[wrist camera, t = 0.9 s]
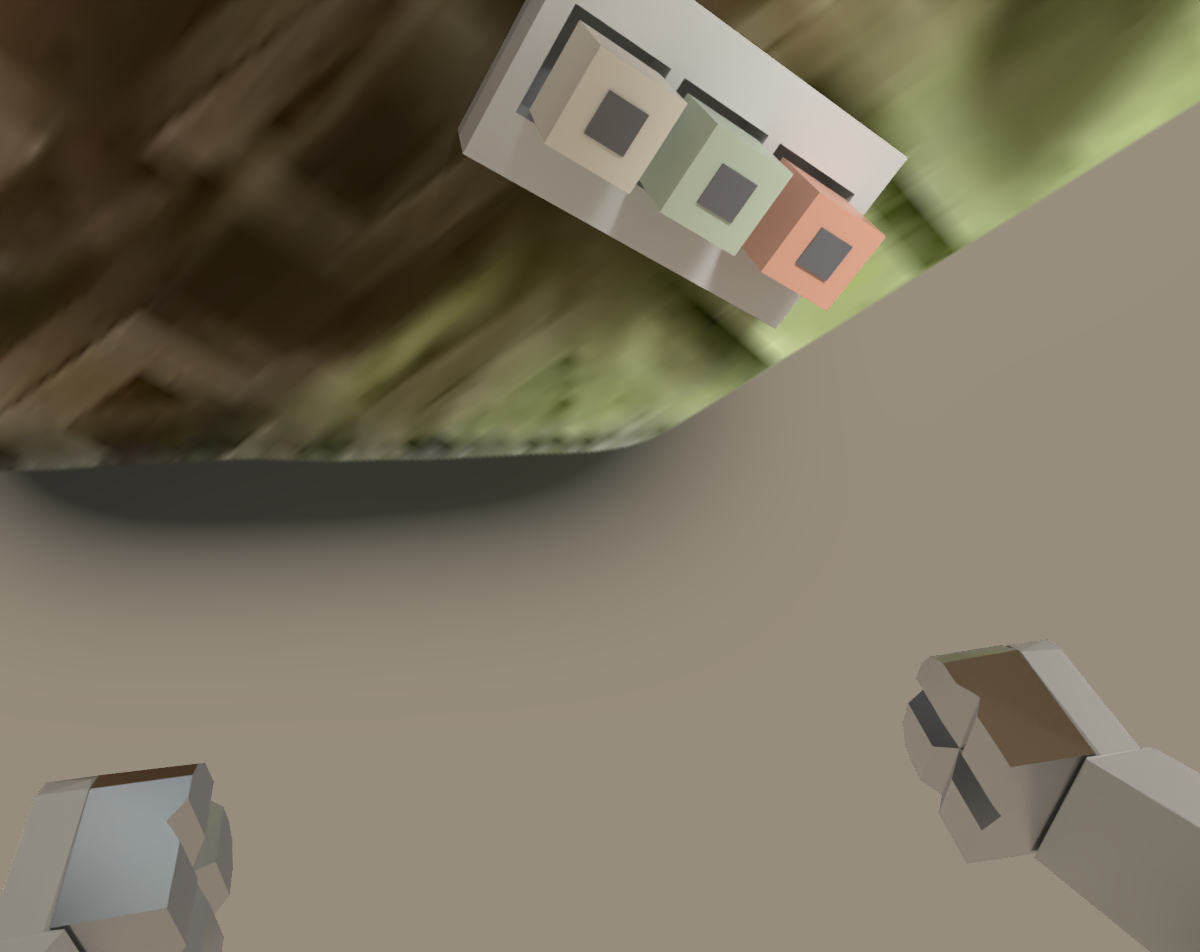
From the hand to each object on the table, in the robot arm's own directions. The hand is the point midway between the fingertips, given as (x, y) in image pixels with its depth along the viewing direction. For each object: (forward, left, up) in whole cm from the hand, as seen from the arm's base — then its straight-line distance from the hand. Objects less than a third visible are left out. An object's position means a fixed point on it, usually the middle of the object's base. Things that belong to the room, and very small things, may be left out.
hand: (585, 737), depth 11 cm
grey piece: (-2, +12, -37) cm, 39 cm away
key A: (-2, +6, -33) cm, 34 cm away
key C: (-2, +17, -33) cm, 37 cm away
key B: (-2, +12, -33) cm, 35 cm away
